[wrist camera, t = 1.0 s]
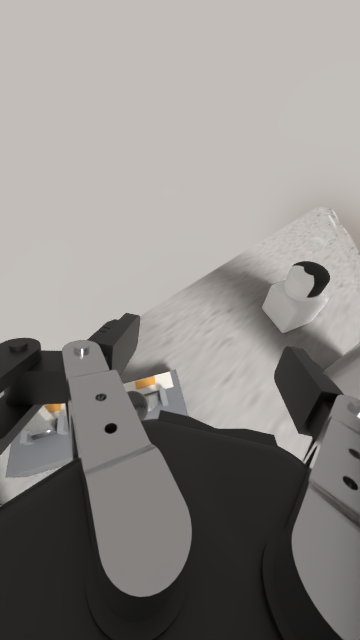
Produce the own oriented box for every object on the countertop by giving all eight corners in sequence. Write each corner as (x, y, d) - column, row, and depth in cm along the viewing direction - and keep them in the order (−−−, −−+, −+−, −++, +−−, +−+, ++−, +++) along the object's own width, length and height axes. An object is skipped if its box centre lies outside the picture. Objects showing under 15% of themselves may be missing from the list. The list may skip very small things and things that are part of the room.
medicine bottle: (288, 297, 47) (313, 251, 37) (311, 322, 43) (347, 277, 33) (260, 308, 46) (279, 263, 36) (282, 334, 42) (309, 291, 32)
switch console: (177, 378, 37) (175, 364, 33) (190, 427, 33) (189, 419, 28) (33, 417, 35) (8, 408, 30) (25, 477, 30) (-6, 477, 25)
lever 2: (156, 388, 32) (143, 386, 17) (160, 408, 31) (151, 423, 16) (136, 394, 31) (105, 396, 17) (140, 414, 31) (111, 435, 16)
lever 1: (62, 420, 31) (-9, 338, 21) (57, 440, 28) (-24, 358, 19) (40, 426, 30) (-42, 345, 21) (34, 446, 28) (-61, 366, 19)
